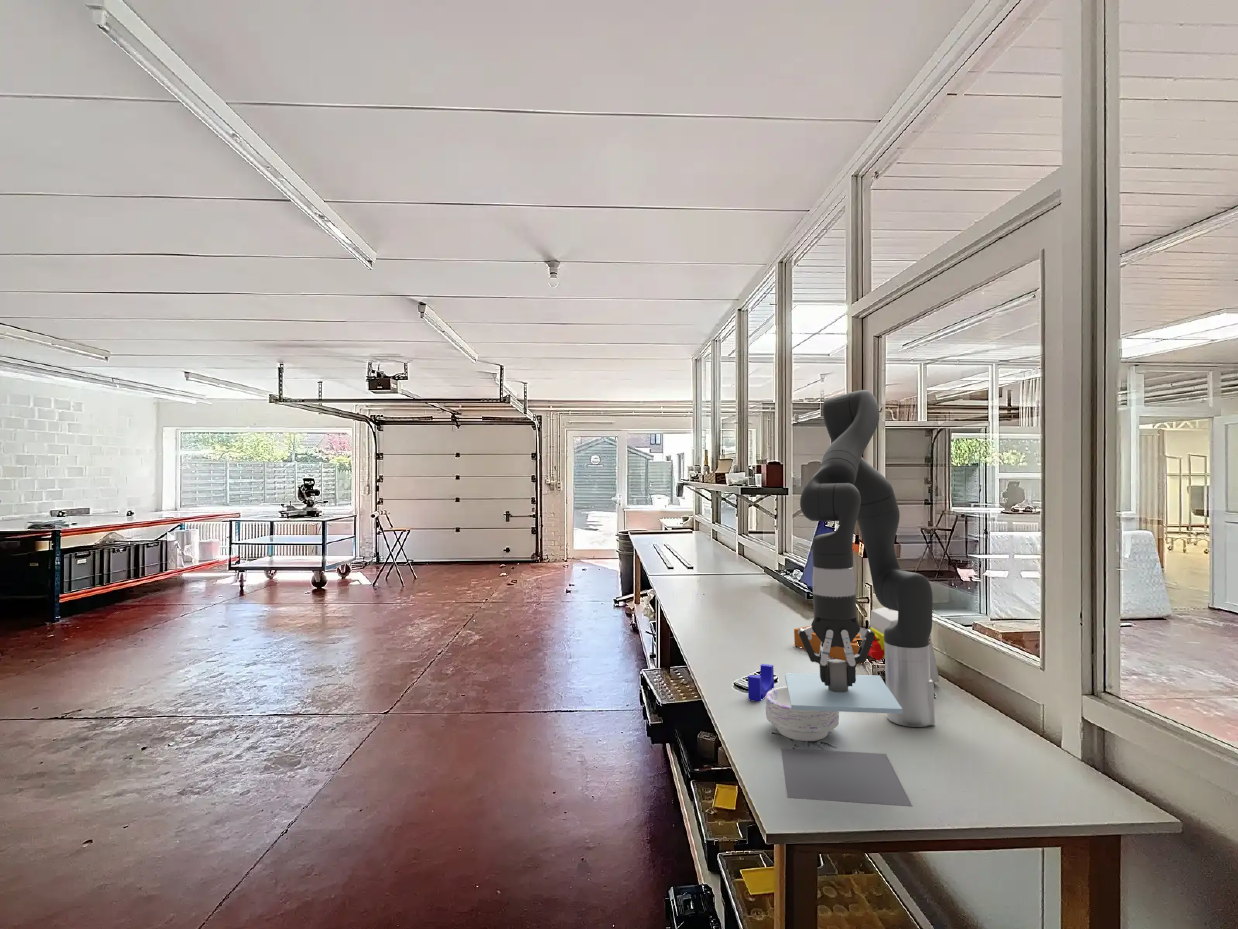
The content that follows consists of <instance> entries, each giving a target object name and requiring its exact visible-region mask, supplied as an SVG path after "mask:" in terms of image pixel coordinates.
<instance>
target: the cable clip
mask: <svg viewBox="0 0 1238 929" xmlns="http://www.w3.org/2000/svg"><path fill="white" fill-rule="evenodd" d="M774 672H775V671H774V664H767V663H761V664H760V672H759V673H760V674H756V675H752V674H749V675H747V690H748V692H747V693H748V696H747V697H748V700H749V699H750V700H749V701H751V700H754V701H753V702H757V701H761V699H763V698H764V697H765V696H766V694H767V692H768V691H770V690H772V688H773V689H775V676H774V675H775V674H774ZM765 698H766V697H765ZM765 698H764V699H765ZM764 699H763V700H764ZM761 702H762V701H761Z"/></svg>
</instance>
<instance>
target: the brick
mask: <svg viewBox="0 0 1238 929" xmlns="http://www.w3.org/2000/svg"><path fill="white" fill-rule="evenodd" d="M810 626H811V625H809V626H803V627H798V628H794V629H793V630H794V631H793V633H794V634H793V635H794V647H795V646H797V647H796V648H798V647H802V648H804V649H803V650H805V647H804V645H803V642H802V640H801V638H800V635H799V633H798V630H799V629H800V628H803V629H805V628H807V627H810ZM857 640H862V639H861V638H860V633H858V634H857V635H856V637H855V638H854V640H853V641H852V642H851V646H852V650H853V655H856V654H857V653H858V650H859V646H858V643H857ZM809 641H810V644H811V646H812V648H813V651H814V653H815V652H816V654H818V653H819V654H820V646H821V640H820V639H819V638H818V637H817V635H816V634H815V633H814V632H812V639H811V640H809ZM819 654H818V655H819ZM831 657H833V658H832V659H834V658H836V659H839V660H844V661H846V662H847V659H846V655H845V652H844V649H843V648H841V647H838V646H836V647H830V652H829V655H828V658H831ZM859 665H862V664H861V663H859Z"/></svg>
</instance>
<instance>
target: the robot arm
mask: <svg viewBox="0 0 1238 929" xmlns="http://www.w3.org/2000/svg"><path fill="white" fill-rule="evenodd" d="M821 411H822V417H823V422H824V424H825V428H826V430H827V434H828V435H829V438H830V442H831V443H830V445H829V446H828V447H827V449H826V450H825V452H824V454H823V456H822V459H821V462H820V465H819V470H817V471H816V473H815V474H814V475H813V476H812V477H811V479H809V481H808V482H807V483H806V485H805V486H804V488H803V490H802V492H801V495H800V499H799V506H800V511H801V513H802V514H803V516H804V517H805V518H807V519H808V520H809V521H812V522H813V521H814V522H839V524H838V527H837V529H836V530H835V531H832V532H828V533H822V534H818V535H816V536H815V537H813V539H812V542H811V543H812V566H813V571H812V580H811V581H812V599H813V600H812V601H813V602H812V604H813V620H812V622H811V625H809V626H810V627H807V626H806V627H807V628H805V629H803V628H802V627H799V628H800V629H799V630H798V633H799V635H800V638H801V640H802V642H803V645H804V647H805V649H806V650H805V649H804V650H805V651H806V653H807V655H808V658H809V660H810V662H812V663H816V664H818V665H819V674H820V679H821V681H822V682H824V684H825V686H829V667H828V665H827V661H828V659H829V657H828V655H829V652H830V647H836V646H838V647H841V648H843V649H844V652H845V655H846V659H847V673H848V686H852V683H855V682H856V675H857V673H856V671H857V670H856V666H858V665H857V664H859V663H863V664H865V663H864V662H865V661H866V659H867V656H868V653H869V651H870V648H871V645H872V643H873V640H874V637H875V634H874V633H873V631H872V630H871V629H870V628H864V627H862V626H860V624H859V622H858V616H857V596H856V595H857V594H856V592H857V586H856V578H855V572H854V560H853V558H854V557H853V541H854V533H855V528H856V524H858V528H859V531H860V535H861V538H862V541H863V546H864V549H865V553H866V556H867V561H868V566H869V571H870V576H871V577H870V578H871V582H872V587H873V592H874V595H875V597H876V599H877V601H878V602H879V604H880V605H881V606H882V607H883V608H884V607H886V608H888V609H891V610H895V611H898V622H897V624H896V625H895V626H890V627H887V628H886V629H885V630H884V647H885V672H884V674H885V684H886V685H887V687H888V688H889V690H890V691H891V693H892V694H893V696H894V697H895V699H896V700H897V702H898V703H899V705H900V706H901V708H902V712H903V714H895V713H886V717H887V719H888V720H889V721H890V722H892V723H894V724H896V725H899V726H903V727H909V728H910V727H911V728H924V727H928V726H936V716H935V715H936V714H935V713H936V712H935V710H936V709H935V691H934V689H935V687H934V682H933V681H932V680H931V679H930V657H929V636H930V634H932V629H933V606H934V605H933V604H934V602H933V600H934V599H933V597H934V596H933V589H932V587H931V583H930V581H929V579H928V578H927V577H926V576H925V575H923V574H921V573H918V572H912V571H908V570H902V569H901V567H900V565H899V562H898V559H897V555H896V554H897V553H896V551H895V540H896V535H897V533H898V532H897V531H898V528H899V524H900V515H901V514H900V508H899V505H898V502H897V499H896V498H897V497H896V494H895V492H894V491H895V490H894V488H893V486H892V484H891V483H890V482H889V480H888V479H887V478H886V477H885V476H884V475H883V474H882V473H881V472H880V471H879V470H878V469H876V468H875V467H874V466H872V465H871V464H870V463H869V462H867V460H865V458H863V457H862V456H863V454H864V452H865V450H866V449H867V447H868V446H869V443H870V441H871V439H872V437H873V436H874V433H875V432H876V430H877V428H878V426H879V422H880V408H879V405H878V402H877V399H876V397H875V396H874V394H873V393H872V392H871V391H870V390H866V389H861V390H855V391H851V392H847V393H844V394H841V395H837V396H834V397H829V398H827V399H826V400H824V402H823V403H822V410H821ZM812 632H814V633H815V634H816V635H817V637H818V638H819V639H820V640H821V646H820V654H818V653H815V652H814V651H813V648H812V646H811V644H810V641H809V640H811V639H812ZM858 633H859V634H860V638H861V639H862V642H861V645H860V647H859V650H858V653H857V654H856V655H853V650H852V646H851V642H852V641H853V640H854V638H855V637H856V635H857V634H858ZM859 665H860V664H859Z"/></svg>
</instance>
